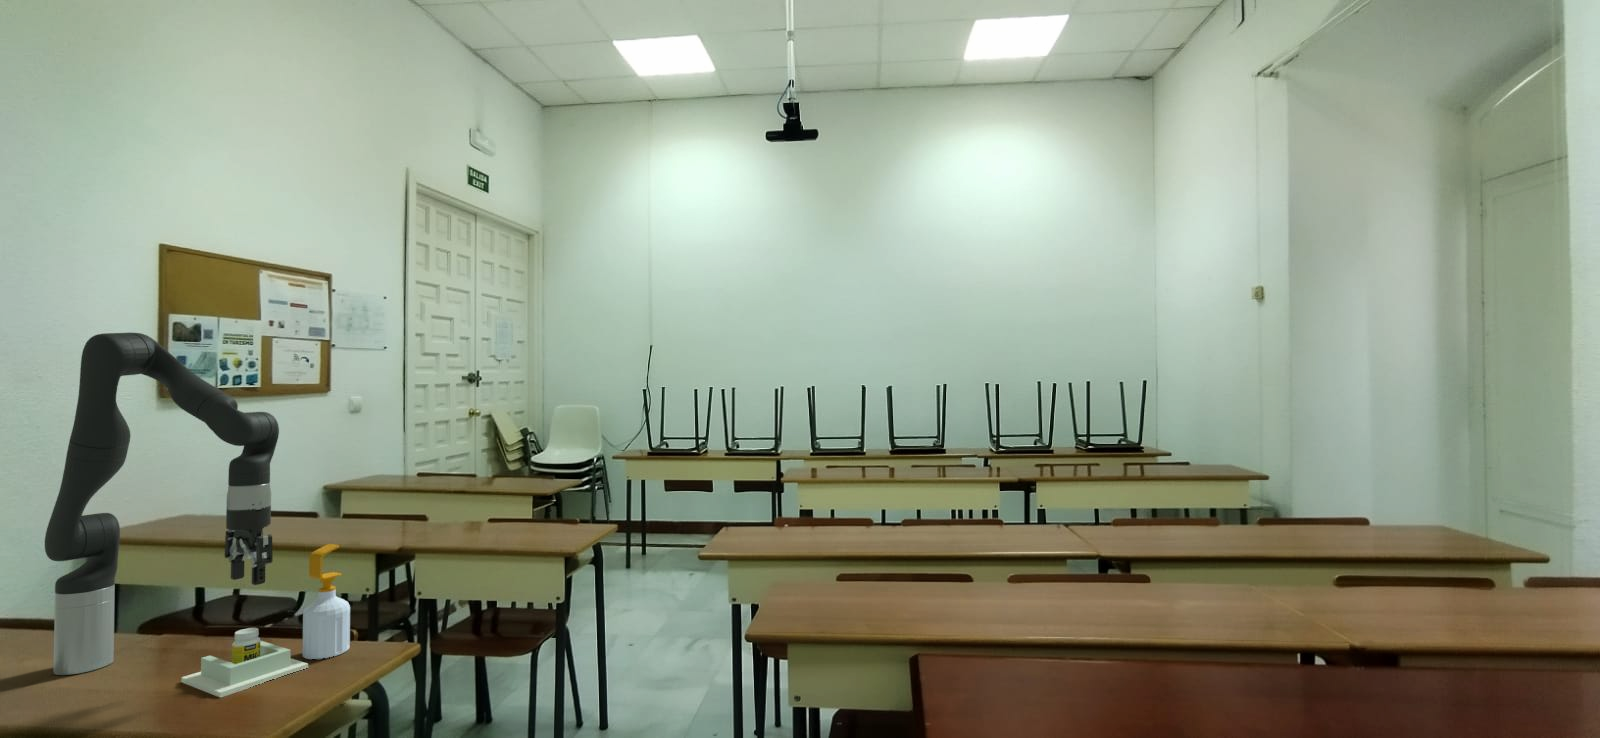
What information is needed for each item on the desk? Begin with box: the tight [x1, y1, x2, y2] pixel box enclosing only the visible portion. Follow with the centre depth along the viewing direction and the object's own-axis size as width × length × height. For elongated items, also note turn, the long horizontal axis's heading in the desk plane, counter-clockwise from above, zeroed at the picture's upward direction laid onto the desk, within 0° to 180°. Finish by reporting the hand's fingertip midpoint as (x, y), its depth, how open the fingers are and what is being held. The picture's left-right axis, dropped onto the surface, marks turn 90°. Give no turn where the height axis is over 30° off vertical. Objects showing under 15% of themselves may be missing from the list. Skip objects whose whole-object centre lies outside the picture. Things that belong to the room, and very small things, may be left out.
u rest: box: [180, 640, 309, 698], centre depth 149 cm, size 16×16×4 cm
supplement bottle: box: [231, 627, 261, 664], centre depth 149 cm, size 5×5×8 cm
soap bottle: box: [302, 543, 351, 660], centre depth 161 cm, size 9×9×25 cm
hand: (247, 581), depth 149 cm, fingers open, 8 cm apart
